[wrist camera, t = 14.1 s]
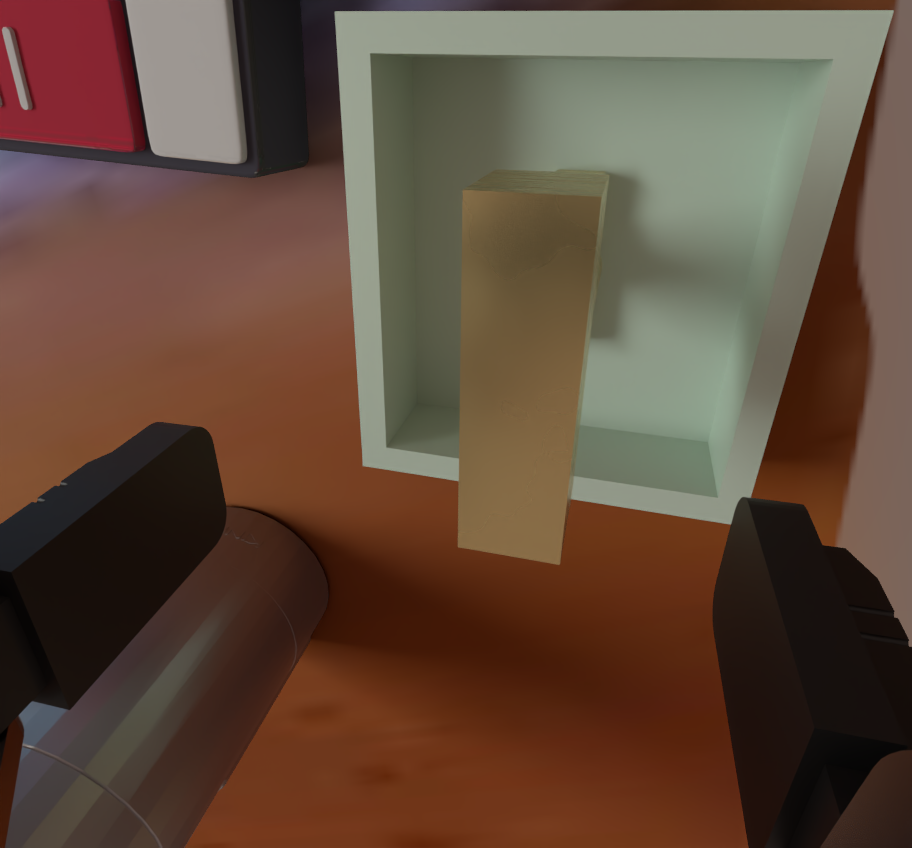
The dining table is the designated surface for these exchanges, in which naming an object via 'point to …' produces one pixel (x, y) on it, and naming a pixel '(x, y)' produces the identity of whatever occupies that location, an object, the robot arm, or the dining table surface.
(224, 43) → the calculator
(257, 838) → the dining table surface
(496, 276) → the t key
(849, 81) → the tray
